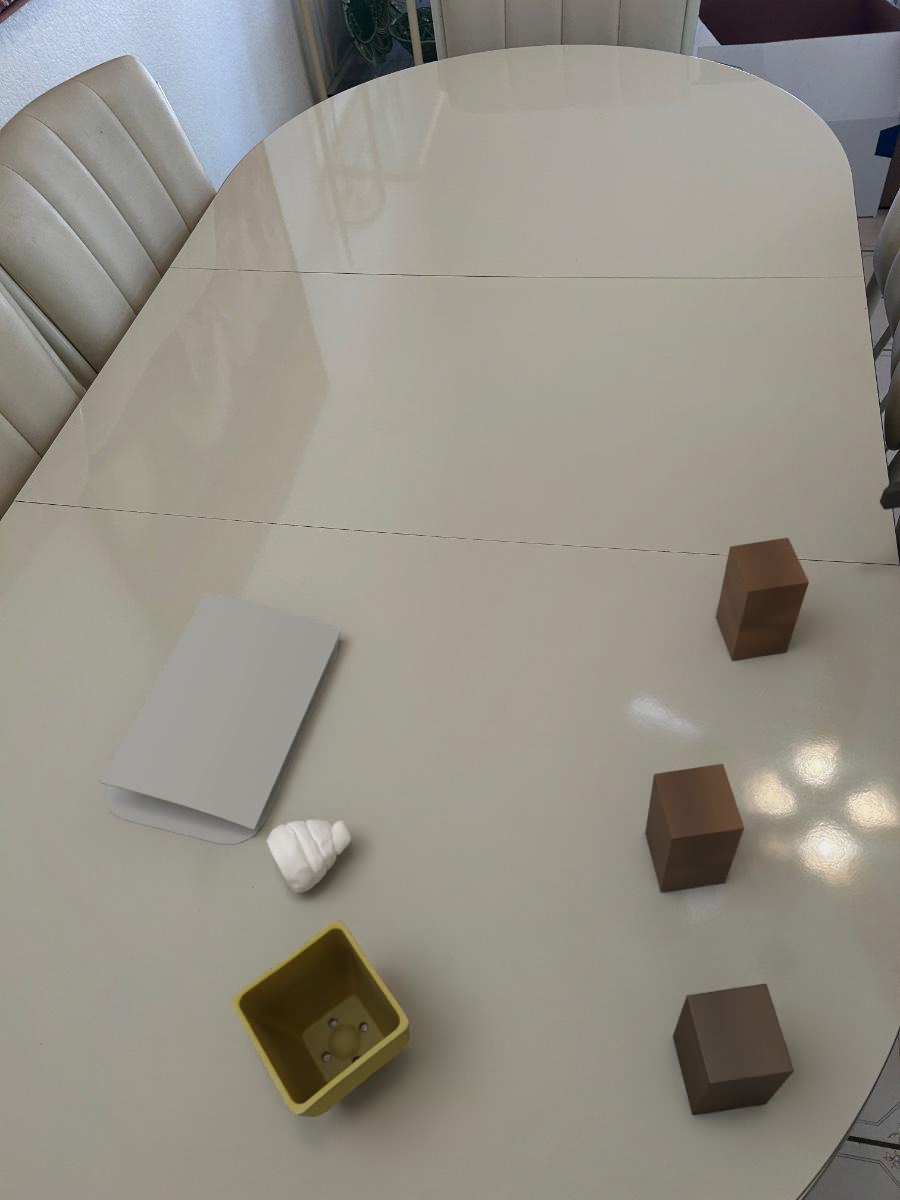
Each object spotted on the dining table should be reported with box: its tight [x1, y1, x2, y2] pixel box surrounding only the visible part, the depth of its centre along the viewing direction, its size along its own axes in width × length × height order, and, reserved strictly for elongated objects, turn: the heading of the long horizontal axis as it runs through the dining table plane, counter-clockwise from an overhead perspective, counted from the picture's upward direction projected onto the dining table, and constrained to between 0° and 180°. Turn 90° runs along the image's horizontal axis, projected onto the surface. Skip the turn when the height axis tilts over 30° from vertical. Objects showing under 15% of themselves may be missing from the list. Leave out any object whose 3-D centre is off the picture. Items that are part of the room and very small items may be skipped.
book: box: [99, 592, 342, 845], centre depth 84 cm, size 15×23×4 cm, turn 164°
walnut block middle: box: [644, 763, 745, 894], centre depth 69 cm, size 5×5×10 cm
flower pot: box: [230, 919, 411, 1118], centre depth 63 cm, size 9×9×9 cm
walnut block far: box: [715, 537, 810, 661], centre depth 81 cm, size 5×5×10 cm
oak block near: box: [672, 983, 795, 1116], centre depth 60 cm, size 5×5×10 cm
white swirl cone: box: [266, 818, 352, 894], centre depth 74 cm, size 6×6×5 cm
